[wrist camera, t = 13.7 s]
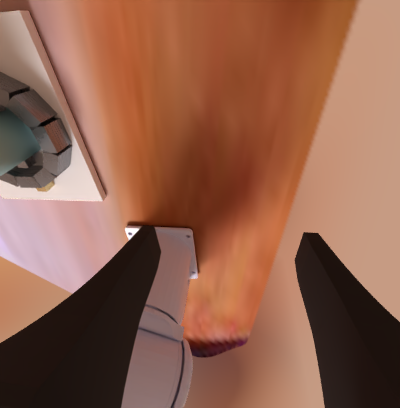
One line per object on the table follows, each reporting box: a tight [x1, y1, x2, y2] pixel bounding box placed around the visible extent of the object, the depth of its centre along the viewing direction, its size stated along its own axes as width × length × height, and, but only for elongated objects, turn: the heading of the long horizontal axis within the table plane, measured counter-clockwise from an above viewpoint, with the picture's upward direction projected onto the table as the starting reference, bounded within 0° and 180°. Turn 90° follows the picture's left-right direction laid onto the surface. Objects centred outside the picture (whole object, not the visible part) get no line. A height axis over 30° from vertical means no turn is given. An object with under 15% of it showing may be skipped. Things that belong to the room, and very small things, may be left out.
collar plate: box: [0, 10, 106, 201], centre depth 19 cm, size 15×12×3 cm
